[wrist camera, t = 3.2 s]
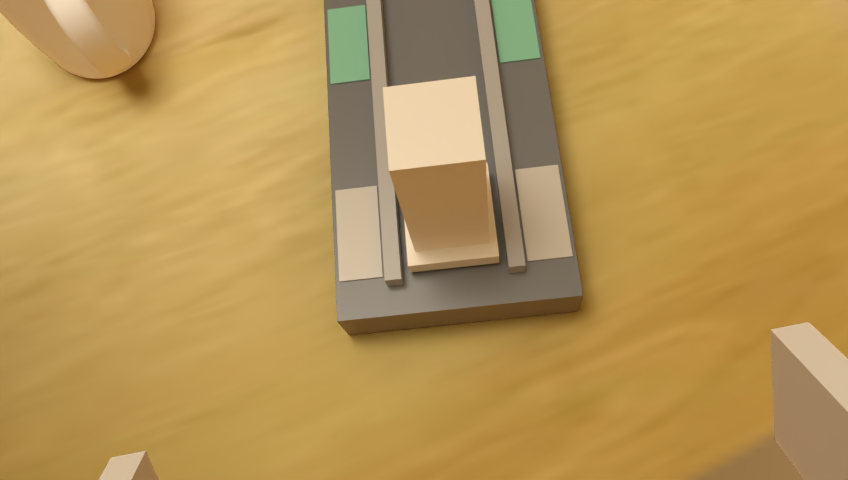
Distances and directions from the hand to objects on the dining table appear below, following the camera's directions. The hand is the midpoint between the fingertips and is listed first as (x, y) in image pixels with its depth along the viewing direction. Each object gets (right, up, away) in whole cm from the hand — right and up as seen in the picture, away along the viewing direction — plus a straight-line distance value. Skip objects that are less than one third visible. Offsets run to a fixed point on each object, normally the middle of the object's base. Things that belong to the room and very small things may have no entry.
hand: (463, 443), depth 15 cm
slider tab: (0, +5, +22) cm, 22 cm away
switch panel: (0, +11, +27) cm, 30 cm away
